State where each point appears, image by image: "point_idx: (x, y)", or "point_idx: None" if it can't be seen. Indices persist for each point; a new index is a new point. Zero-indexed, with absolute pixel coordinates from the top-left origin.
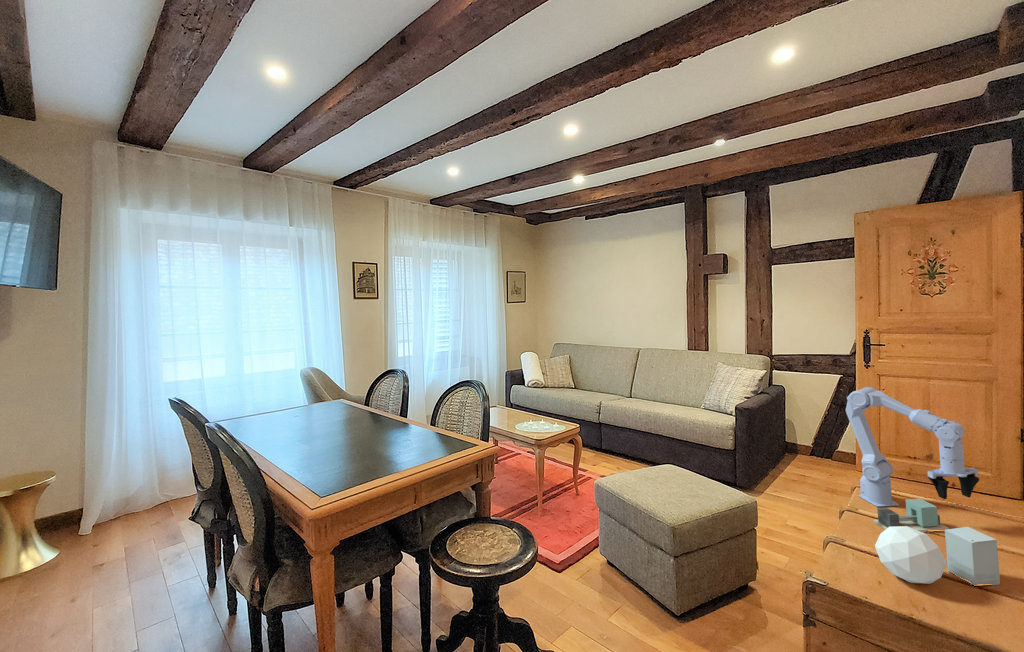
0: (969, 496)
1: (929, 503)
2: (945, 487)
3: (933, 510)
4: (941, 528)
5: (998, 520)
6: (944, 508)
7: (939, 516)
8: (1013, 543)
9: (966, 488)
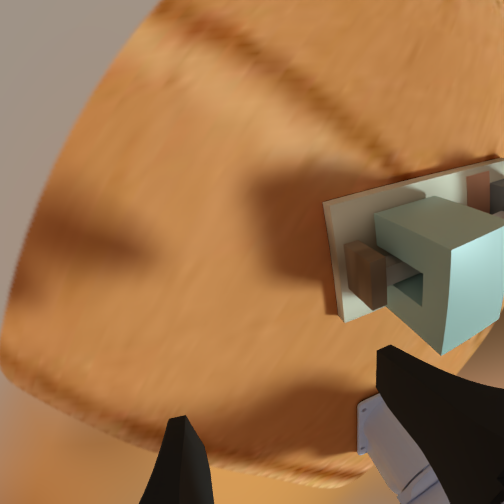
0: (177, 422)
1: (452, 296)
2: (476, 401)
3: (451, 234)
4: (365, 197)
5: (45, 351)
6: (203, 423)
7: (368, 260)
8: (93, 104)
9: (194, 492)
